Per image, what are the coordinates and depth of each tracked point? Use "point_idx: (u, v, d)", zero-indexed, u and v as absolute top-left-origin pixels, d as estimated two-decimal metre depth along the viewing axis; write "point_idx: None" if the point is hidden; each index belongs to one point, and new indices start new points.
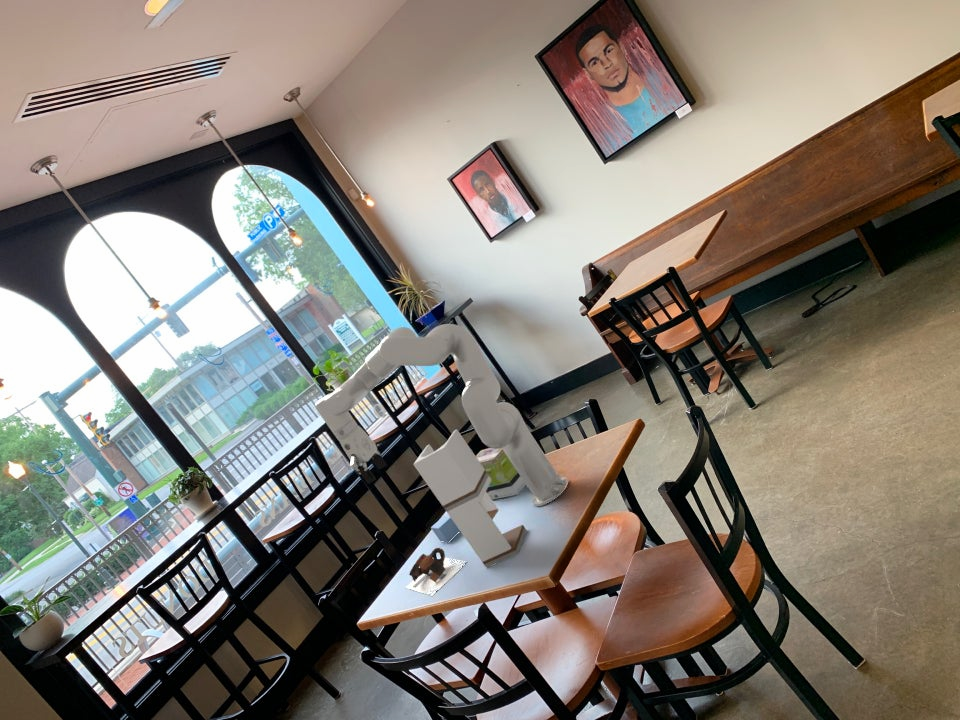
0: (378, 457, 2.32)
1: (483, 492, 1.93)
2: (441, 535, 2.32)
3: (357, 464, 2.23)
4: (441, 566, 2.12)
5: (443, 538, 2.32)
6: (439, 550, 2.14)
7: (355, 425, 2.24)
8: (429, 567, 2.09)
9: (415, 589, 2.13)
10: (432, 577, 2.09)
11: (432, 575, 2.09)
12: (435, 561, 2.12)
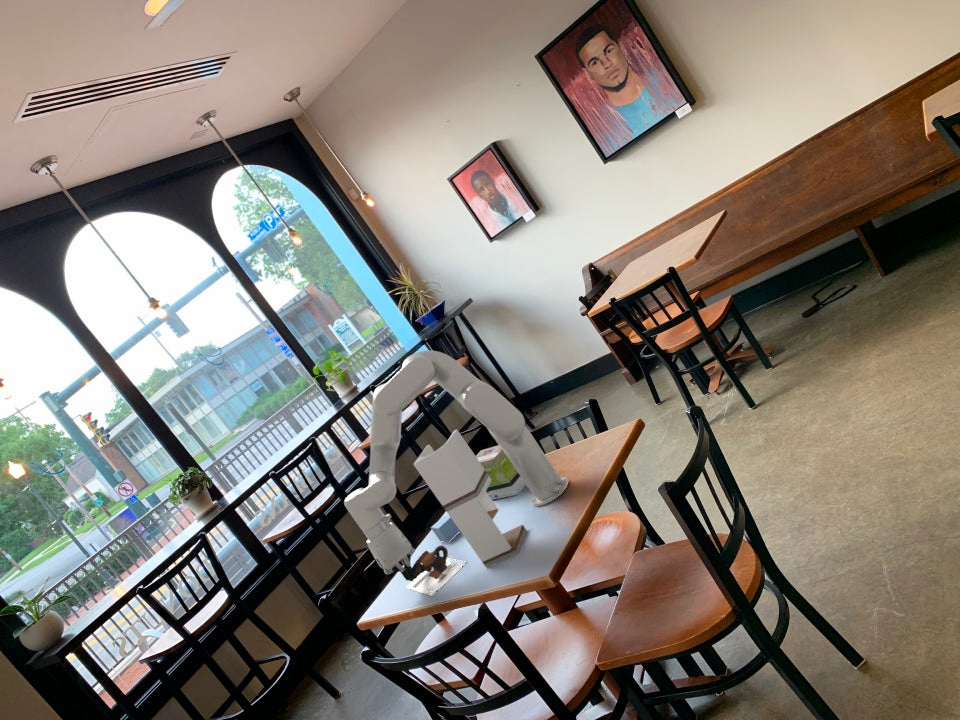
0: None
1: (483, 492, 1.93)
2: (441, 535, 2.32)
3: None
4: (443, 564, 2.12)
5: (443, 538, 2.32)
6: (442, 548, 2.15)
7: None
8: (431, 564, 2.10)
9: (415, 589, 2.13)
10: (433, 574, 2.09)
11: (433, 572, 2.09)
12: (437, 559, 2.12)
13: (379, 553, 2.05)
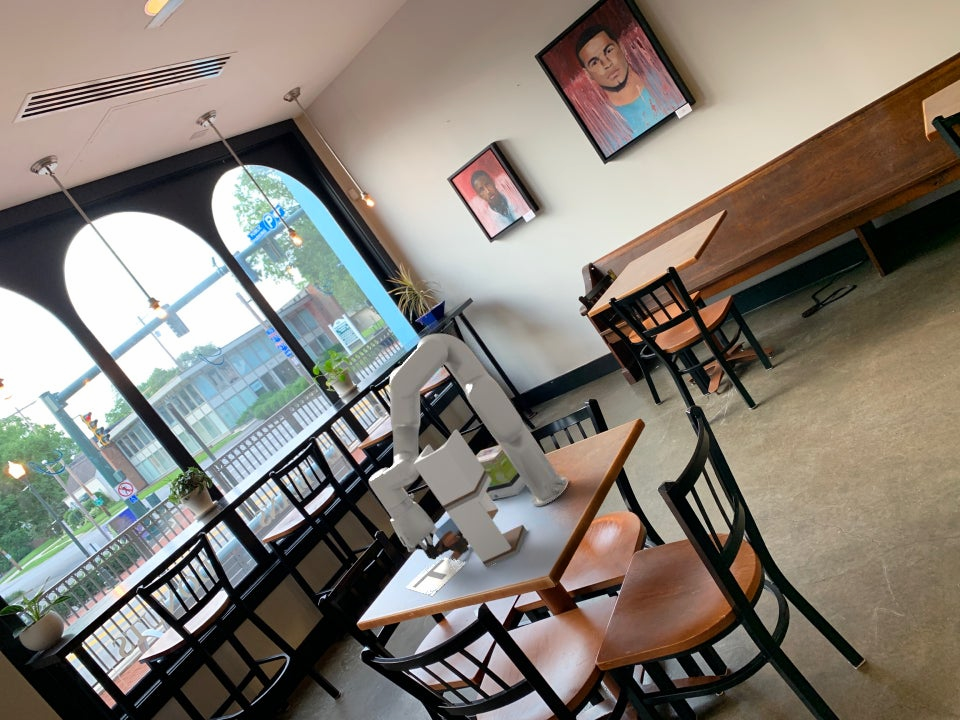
0: None
1: (483, 492, 1.93)
2: (441, 535, 2.32)
3: None
4: (465, 545, 2.15)
5: None
6: None
7: None
8: (452, 545, 2.13)
9: (415, 589, 2.13)
10: (453, 555, 2.12)
11: (454, 553, 2.13)
12: (459, 540, 2.15)
13: (403, 531, 2.09)
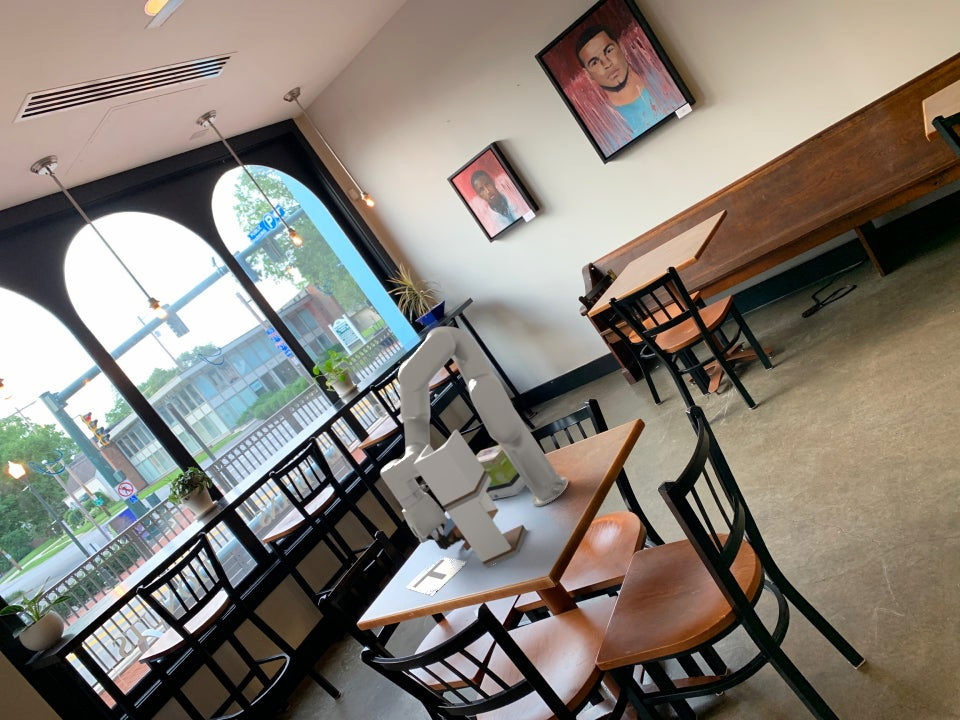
0: None
1: (483, 492, 1.93)
2: None
3: None
4: None
5: None
6: None
7: None
8: None
9: (415, 589, 2.13)
10: (464, 545, 2.14)
11: (465, 543, 2.14)
12: None
13: (415, 522, 2.11)
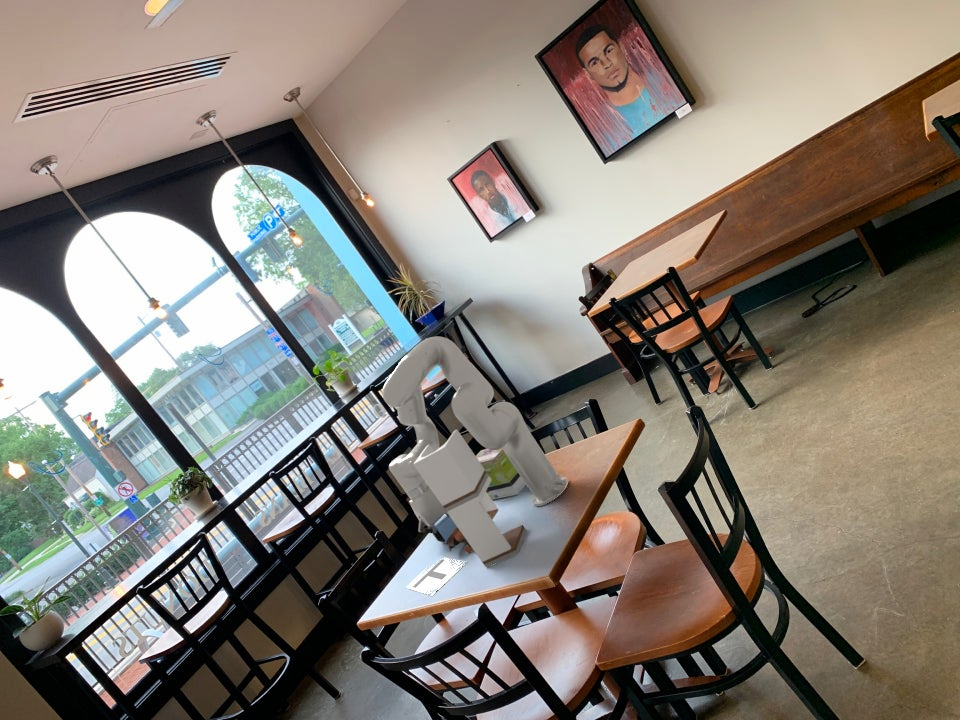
0: None
1: (483, 492, 1.93)
2: None
3: None
4: None
5: None
6: None
7: None
8: (464, 539, 2.14)
9: (415, 589, 2.13)
10: (466, 549, 2.13)
11: (466, 547, 2.13)
12: None
13: (421, 511, 2.30)
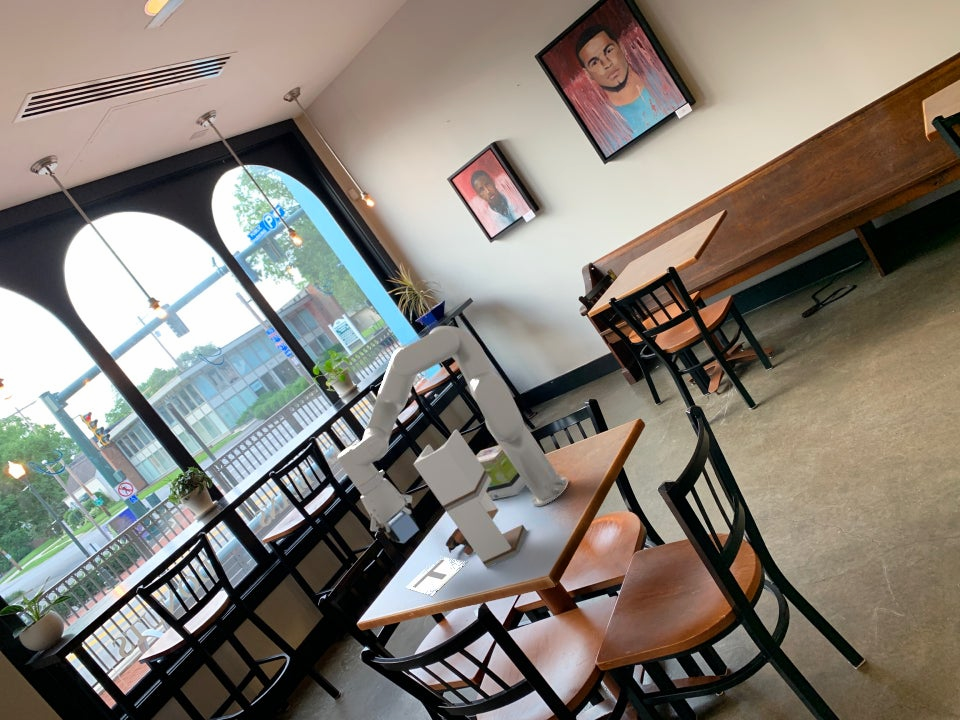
0: None
1: (483, 492, 1.93)
2: None
3: None
4: None
5: (398, 537, 2.09)
6: None
7: None
8: (463, 541, 2.13)
9: (415, 589, 2.13)
10: (466, 551, 2.12)
11: (466, 549, 2.12)
12: None
13: (373, 508, 2.06)
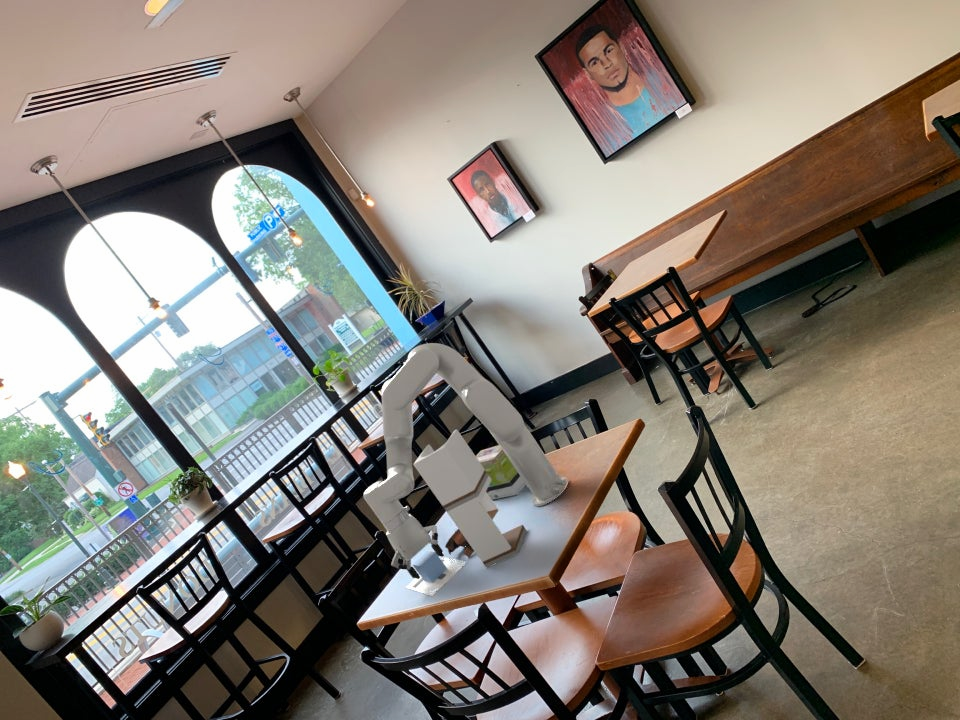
0: None
1: (483, 492, 1.93)
2: (424, 573, 2.11)
3: None
4: None
5: (426, 577, 2.11)
6: None
7: None
8: (463, 542, 2.11)
9: (415, 589, 2.13)
10: (466, 552, 2.11)
11: (466, 550, 2.11)
12: None
13: (399, 544, 2.08)
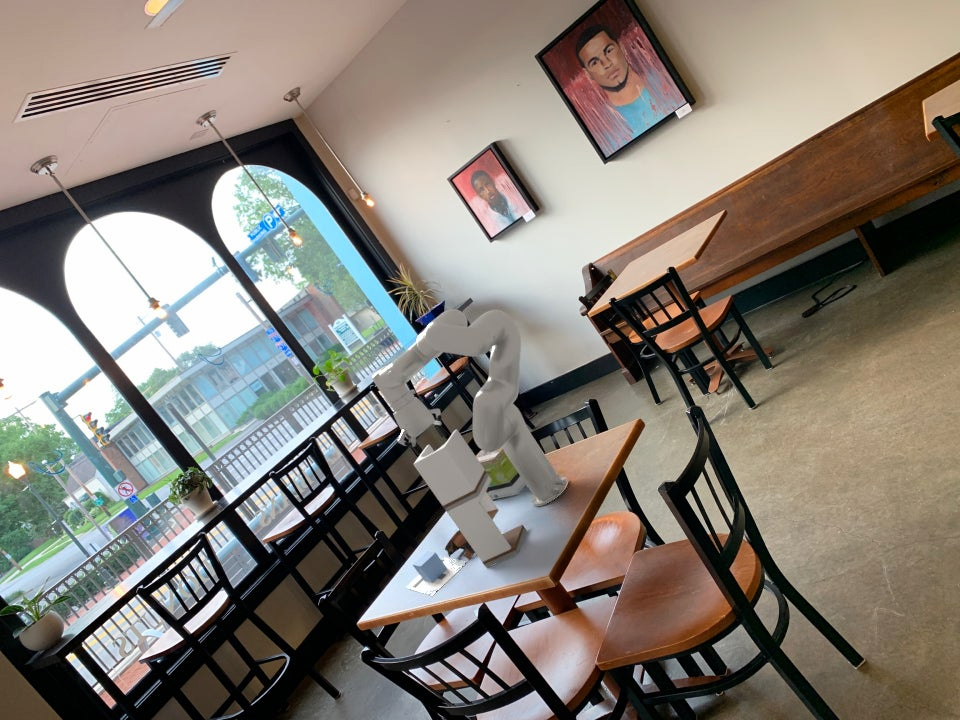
0: None
1: (483, 492, 1.93)
2: (424, 573, 2.11)
3: None
4: None
5: (426, 577, 2.11)
6: None
7: None
8: (463, 544, 2.10)
9: (415, 589, 2.13)
10: (466, 555, 2.09)
11: (466, 553, 2.10)
12: None
13: (405, 422, 2.24)
